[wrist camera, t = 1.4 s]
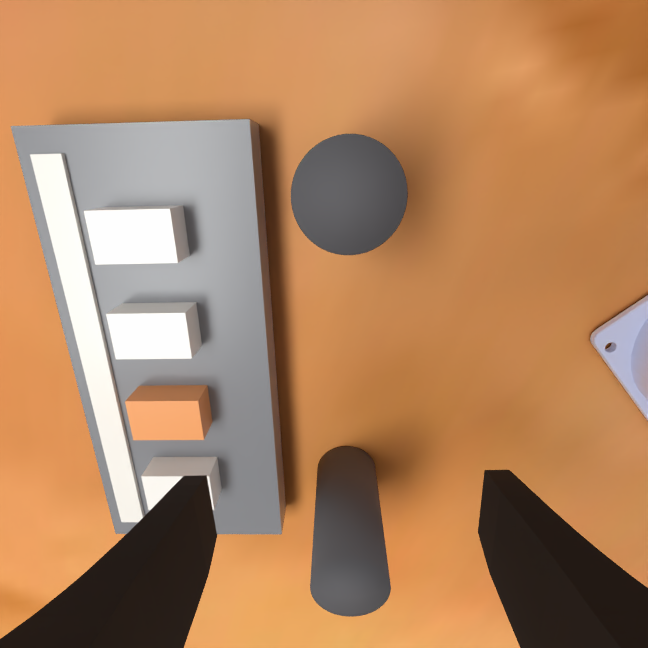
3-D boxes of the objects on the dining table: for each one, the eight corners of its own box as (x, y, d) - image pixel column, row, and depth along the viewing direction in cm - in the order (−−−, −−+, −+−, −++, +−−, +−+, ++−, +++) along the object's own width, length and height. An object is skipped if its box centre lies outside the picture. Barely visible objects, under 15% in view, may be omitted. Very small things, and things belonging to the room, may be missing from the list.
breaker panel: (45, 130, 18) (-19, 122, 15) (258, 124, 17) (241, 115, 14) (132, 505, 25) (102, 556, 22) (285, 505, 24) (278, 556, 21)
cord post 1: (396, 189, 18) (431, 202, 12) (340, 238, 19) (342, 277, 12) (348, 128, 17) (356, 105, 11) (291, 182, 18) (266, 192, 12)
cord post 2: (387, 473, 23) (406, 592, 17) (343, 502, 24) (345, 627, 18) (349, 435, 23) (355, 545, 16) (305, 467, 23) (293, 584, 17)
